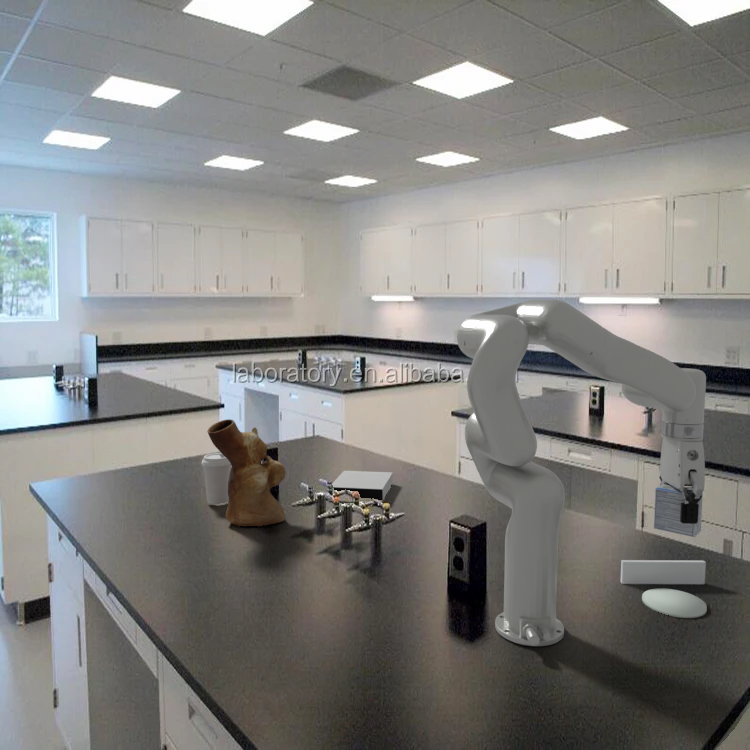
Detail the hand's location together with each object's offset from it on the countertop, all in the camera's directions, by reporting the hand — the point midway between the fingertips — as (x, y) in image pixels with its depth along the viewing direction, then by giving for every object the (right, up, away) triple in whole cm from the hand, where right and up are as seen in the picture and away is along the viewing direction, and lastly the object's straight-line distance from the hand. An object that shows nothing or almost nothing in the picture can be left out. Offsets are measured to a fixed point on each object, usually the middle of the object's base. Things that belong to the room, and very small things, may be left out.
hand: (678, 515), depth 128 cm
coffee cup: (-110, -12, +70) cm, 131 cm away
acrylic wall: (+2, -18, +12) cm, 21 cm away
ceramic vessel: (-97, -14, +52) cm, 111 cm away
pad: (0, -19, +2) cm, 19 cm away
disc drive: (-66, -11, +82) cm, 105 cm away
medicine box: (0, -4, 0) cm, 3 cm away
